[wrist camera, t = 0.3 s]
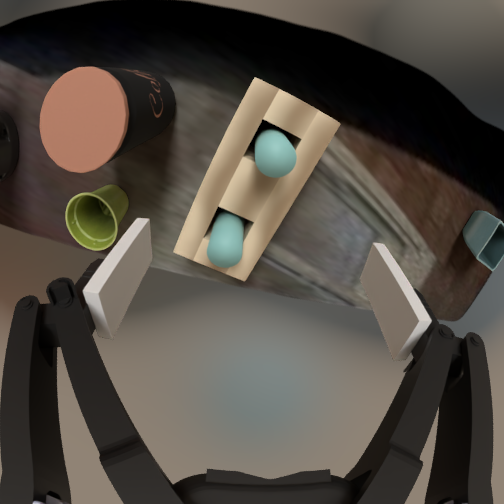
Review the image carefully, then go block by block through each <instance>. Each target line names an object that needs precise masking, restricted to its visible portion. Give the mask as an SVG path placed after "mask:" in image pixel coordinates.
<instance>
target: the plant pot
mask: <svg viewBox="0 0 504 504" xmlns="http://www.w3.org/2000/svg"><path fill="white" fill-rule="evenodd" d="M101 201H102V203H103V206H102V204H101ZM128 205H129V201H128V197H127V195H126V193H125V192H124V191H123V190H122V189H121V188H119V187H118V186H117V185H106V186H104V187H102V188H100V189H98V190H95V191H93V192H91V193H89V192H85V193H80V194H78V195H76V196H75V197H73V198H72V199H71V200H70V202H69V203H68V205H67V208H66V223H67V227H68V229H69V231H70V233H71V235H72V236H73V237H74V239H75V240H76V241H77V242H78V243H79V244H81V245H82V246H84V247H86V248H88V249H91V250H96V251H97V250H104V249H106V248H108V247H109V246H111V245H112V243H113V242H114V241H115V239H116V236H117V232H118V226H119V224H120V222H121V220H122V219H123V217H124V215H125V213H126V212H127V209H128Z"/></svg>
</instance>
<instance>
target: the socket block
mask: <svg viewBox="0 0 504 504" xmlns="http://www.w3.org/2000/svg"><path fill="white" fill-rule="evenodd" d="M263 119H264V120H266V121H268V122H270V123H272V124H274V125H276V126H278V127H280V128H282V129H284V130H286V131H288V132H289V133H290V134H289V136H288V137H287V139H288V140H289V142H290V143H291V145H292V146H293V147H294V149H295V152H296V156H297V160H296V164H295V167H294V168H293V170H292V171H291V172H290V173H289V174H287V175H285V176H283V177H279V178H273V177H269V176H266V175H264V174H263V173H262V172H261V171H260V170H259V169H258V167H257V165H256V162H255V148H254V147H252V146H250V145H249V144H250V142H251V140H252V138H253V136H254V135H255V133H256V131H257V129H258V127H259V125H260V123H261V121H262V120H263ZM339 126H340V123H339V122H337V121H336V120H334V119H332V118H331V117H329V116H327V115H326V114H324V113H322V112H321V111H319V110H317V109H315V108H314V107H312V106H310V105H308V104H307V103H305V102H303V101H301V100H299V99H298V98H296V97H294V96H292V95H290V94H288V93H286V92H284V91H282V90H280V89H278V88H276V87H274V86H272V85H270V84H268V83H266V82H264V81H262V80H260V79H258V78H254V80H253V81H252V83H251V85H250V87H249V89H248V91H247V92H246V94H245V96H244V98H243V100H242V102H241V104H240V106H239V108H238V110H237V111H236V113H235V115H234V117H233V119H232V121H231V123H230V125H229V127H228V129H227V131H226V133H225V135H224V137H223V139H222V141H221V143H220V146H219V148H218V150H217V152H216V154H215V156H214V158H213V160H212V162H211V165H210V167H209V169H208V171H207V173H206V175H205V178H204V180H203V182H202V184H201V187H200V189H199V191H198V193H197V196H196V198H195V200H194V203H193V205H192V207H191V210H190V212H189V214H188V217H187V219H186V222H185V224H184V226H183V229H182V231H181V234H180V236H179V239H178V241H177V244H176V246H175V249H174V253H176V254H179V255H181V256H183V257H186V258H188V259H191V260H193V261H195V262H198V263H200V264H203V265H205V266H208V267H210V268H212V269H215V270H217V271H220V272H222V273H225V274H227V275H230V276H232V277H235V278H237V279H240V280H242V281H245V280H246V279H247V277H248V276H249V274H250V272H251V271H252V269H253V267H254V266H255V264H256V263H257V261H258V259H259V258H260V256H261V254H262V253H263V251H264V250H265V248H266V246H267V245H268V243H269V241H270V240H271V238H272V236H273V235H274V233H275V232H276V230H277V228H278V227H279V225H280V223H281V222H282V220H283V218H284V217H285V215H286V214H287V212H288V210H289V209H290V207H291V205H292V204H293V202H294V200H295V199H296V197H297V195H298V194H299V192H300V190H301V189H302V187H303V186H304V184H305V182H306V181H307V179H308V177H309V176H310V174H311V172H312V171H313V169H314V167H315V166H316V164H317V162H318V161H319V159H320V157H321V156H322V154H323V152H324V151H325V149H326V147H327V146H328V144H329V142H330V141H331V139H332V137H333V136H334V134H335V132H336V131H337V129H338V127H339ZM218 206H219V207H221V208H223V209H225V210H228V211H230V212H232V213H234V214H237V215H239V216H241V217H243V218H244V236H243V250H242V258H241V260H240V261H239V263H238V264H236V265H235V266H233V267H229V268H222V267H218V266H216V265H214V264H213V263H212V262H211V261H210V260H209V258H208V256H207V247H208V243H209V240H210V236H211V232H212V229H213V225H214V222H215V218H216V216H217V214H218V213H217V212H216V210H217V208H218Z"/></svg>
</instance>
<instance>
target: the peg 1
mask: <svg viewBox="0 0 504 504" xmlns="http://www.w3.org/2000/svg"><path fill="white" fill-rule="evenodd" d="M243 236H244V218H243V217H241V216H239V215H237V214H234V213H232V212H230V211H228V210H225V209H223V210H221V211H220V212H219V213H218V214H217V216H216V218H215V222H214V225H213V229H212V232H211V236H210V240H209V243H208V247H207V256H208V258H209V260H210V261H211V262H212V263H213V264H214V265H216V266H218V267H222V268H229V267H233V266H235V265H236V264H238V263H239V261H240V260H241V258H242V250H243Z"/></svg>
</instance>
